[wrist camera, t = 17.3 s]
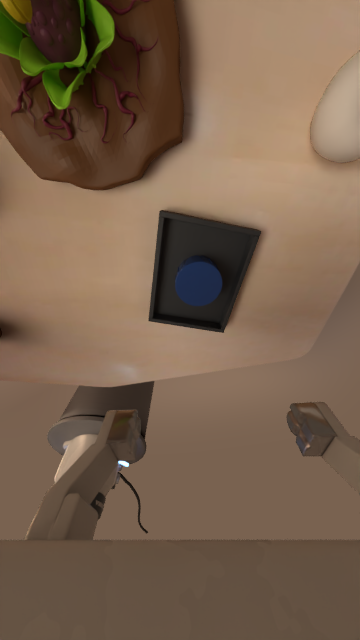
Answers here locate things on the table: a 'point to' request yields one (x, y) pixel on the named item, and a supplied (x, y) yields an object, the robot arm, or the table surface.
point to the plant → (90, 87)
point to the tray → (194, 240)
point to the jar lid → (198, 281)
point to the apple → (339, 116)
